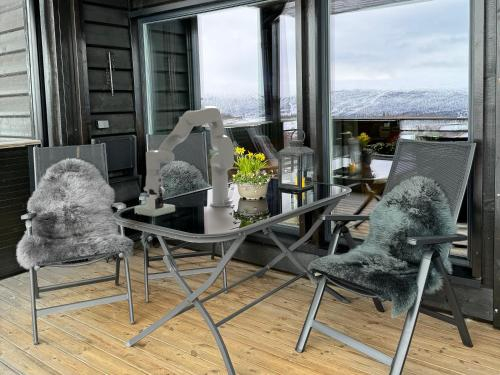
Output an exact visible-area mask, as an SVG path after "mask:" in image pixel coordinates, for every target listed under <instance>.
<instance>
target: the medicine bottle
mask: <svg viewBox="0 0 500 375" xmlns="http://www.w3.org/2000/svg"><path fill="white" fill-rule="evenodd" d="M159 195H160V193H159ZM157 198H158V196H157V193H155V192H154V190H153V189H149V197H147V196H145V205H146V209H152V210H156V209H160V208H164V204H165V203H164V196H163V197H162V204H159V205H158V203H157Z"/></svg>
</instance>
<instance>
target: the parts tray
mask: <svg viewBox="0 0 500 375" xmlns="http://www.w3.org/2000/svg"><path fill="white" fill-rule="evenodd" d="M174 212H176V205H174V204H170V203H169V204H167V203H164V208H160V209H156V210H152V209H146V204H142V205H138V206H134V214H136V213H137V214H136V215H141V216H142V215H143V216H148V217H159V216H163V215H166V214H167V215H168V214H171V213H174Z"/></svg>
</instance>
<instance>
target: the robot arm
mask: <svg viewBox="0 0 500 375" xmlns="http://www.w3.org/2000/svg"><path fill="white" fill-rule="evenodd" d="M206 124H207V125H208V126H209V133H210V136H209V137H210V146H211V148H212V149H213V150H214V151H217V152H216V153H214V154H213V155H212V156H211V158H210V163H209V164H210V167H211V168H210V169H211V191H212V195H211V196H212V202H210V203H209V205H210V207H215V208H216V207H217V208H222V207H229V206H231V205H232V204H233V203H234V200H232V199H230V197H229V175H228V171H229V170H232V168H234V167H233V166H234V164H235V157H234V156H235V155H234V144H233V141H232V139H231V138H230V137H229V136H227V135H226V133H225V125H224V121H223V120H222V118H221V111H220V110H219V108H217V107H216V106H203V107H201V108H200V109H199V110H187V111H185V112H184V113H183V114H182V115H181V117H180V119H179V120H178V122H177V124H176V125H175V127H174V128H173V129H172V131H171V133H169V134H168V135H167V137H166V138H164V140H162V142H161V144H160V146H159V147H158V148H157V150H147V151H146V152H145V161H146V162H145V164H146V176H145V186H144V187H143V190H144V193H145V197H149V189H153V190H154V192H155V193H157V196H158V198H157V203H158V205H159V204H162V197H163V198H164V195H165V193H166V190H165V188H164V181H163V177H162V175H161V173H162V172H161V164H170V163H172V162H173V161H174V160H175V154H174V152H173V150H174V148H175V147H176V146H177V145H179V144H181V143H182V142H184V141H185V140H186V139H187V138H188V136H189V134H190V133H191V131H192V130H193V128H194V127H198V126H203V125H206ZM159 193H160V195H159Z"/></svg>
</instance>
